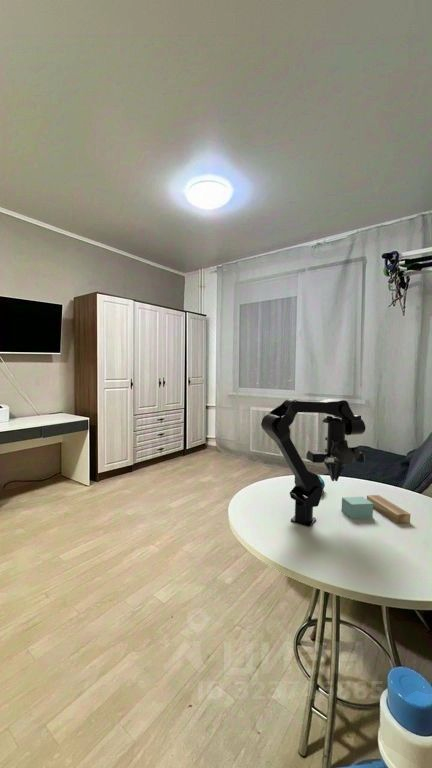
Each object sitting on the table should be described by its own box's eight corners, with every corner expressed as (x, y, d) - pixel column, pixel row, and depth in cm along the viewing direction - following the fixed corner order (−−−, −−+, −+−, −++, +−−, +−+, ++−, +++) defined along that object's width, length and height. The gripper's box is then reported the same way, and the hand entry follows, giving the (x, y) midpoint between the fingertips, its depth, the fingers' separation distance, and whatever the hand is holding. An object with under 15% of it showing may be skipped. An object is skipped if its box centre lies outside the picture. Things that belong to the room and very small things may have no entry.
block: (350, 518, 108) (351, 504, 108) (341, 511, 114) (342, 497, 114) (372, 517, 110) (373, 503, 109) (362, 510, 115) (362, 496, 115)
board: (396, 523, 105) (396, 514, 105) (366, 503, 121) (366, 495, 121) (410, 522, 106) (410, 513, 106) (378, 502, 122) (378, 495, 122)
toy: (324, 478, 126) (314, 465, 141) (305, 485, 127) (298, 471, 142) (331, 495, 126) (321, 481, 141) (313, 502, 127) (305, 487, 142)
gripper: (321, 441, 100) (319, 490, 101) (376, 440, 103) (374, 488, 103) (306, 434, 111) (304, 478, 112) (356, 433, 114) (354, 477, 114)
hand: (334, 480), depth 110 cm, fingers closed
